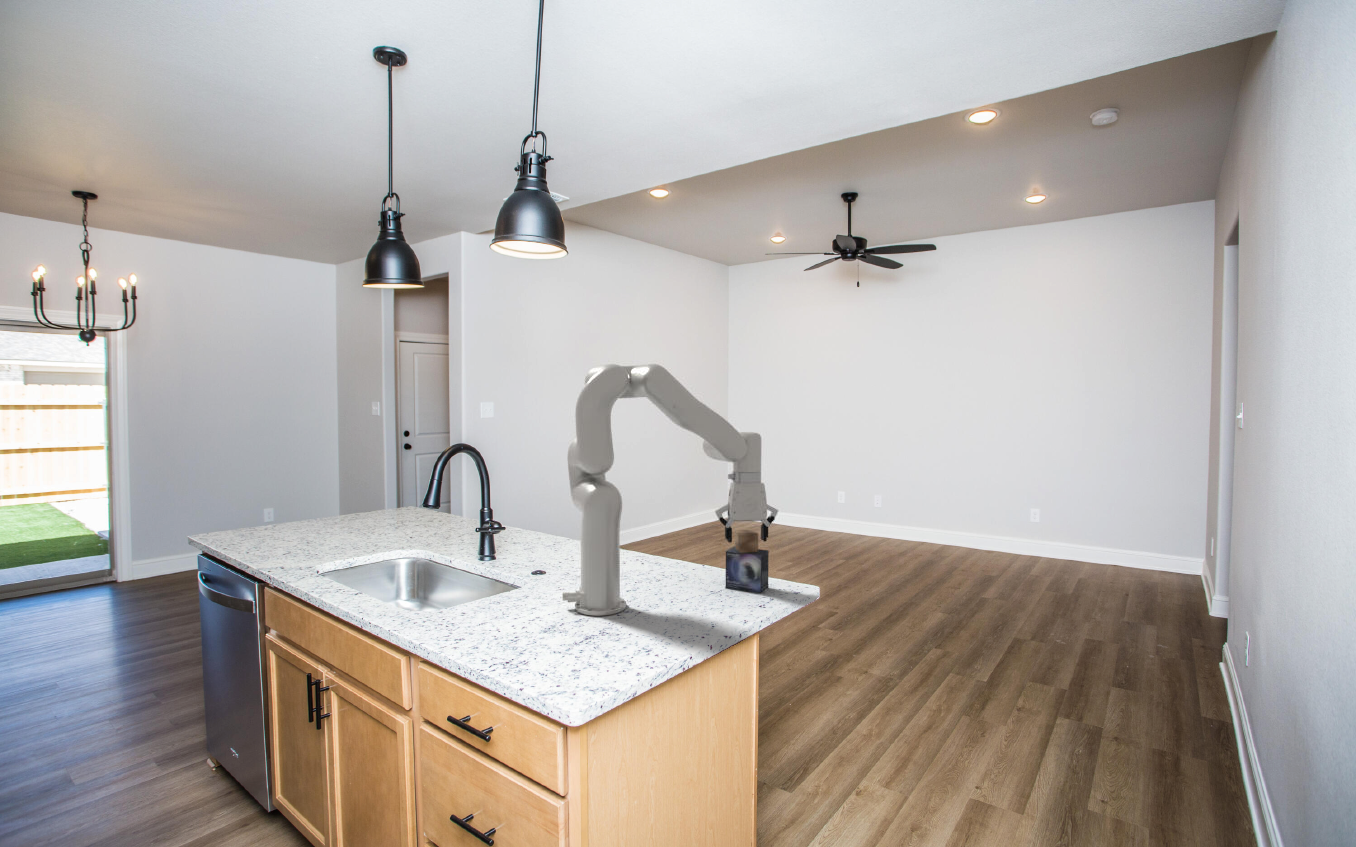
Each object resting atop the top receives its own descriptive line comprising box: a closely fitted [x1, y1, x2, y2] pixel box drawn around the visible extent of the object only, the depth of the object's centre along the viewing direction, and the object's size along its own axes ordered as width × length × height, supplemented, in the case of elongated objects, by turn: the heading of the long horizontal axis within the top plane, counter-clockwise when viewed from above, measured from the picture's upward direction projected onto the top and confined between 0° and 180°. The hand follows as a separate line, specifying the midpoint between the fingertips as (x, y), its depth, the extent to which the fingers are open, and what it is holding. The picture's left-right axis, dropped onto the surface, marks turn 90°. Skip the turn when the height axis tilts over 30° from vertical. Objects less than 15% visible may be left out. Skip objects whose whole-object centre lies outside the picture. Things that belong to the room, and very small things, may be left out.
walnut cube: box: [734, 529, 759, 553], centre depth 177 cm, size 5×5×5 cm
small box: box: [725, 546, 770, 594], centre depth 178 cm, size 11×6×10 cm, turn 62°
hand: (746, 540), depth 177 cm, fingers open, 9 cm apart
